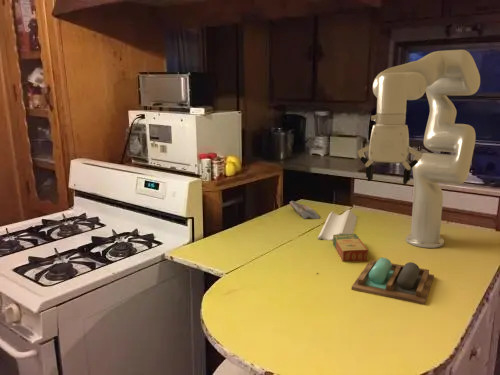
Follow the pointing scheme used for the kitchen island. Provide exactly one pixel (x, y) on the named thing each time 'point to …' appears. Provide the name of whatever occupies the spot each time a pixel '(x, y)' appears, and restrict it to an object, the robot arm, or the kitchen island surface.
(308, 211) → the stone
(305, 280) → the kitchen island surface
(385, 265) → the mint green cylinder
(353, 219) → the crown molding
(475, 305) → the kitchen island surface
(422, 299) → the rack
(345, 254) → the carton
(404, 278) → the dark gray cylinder
